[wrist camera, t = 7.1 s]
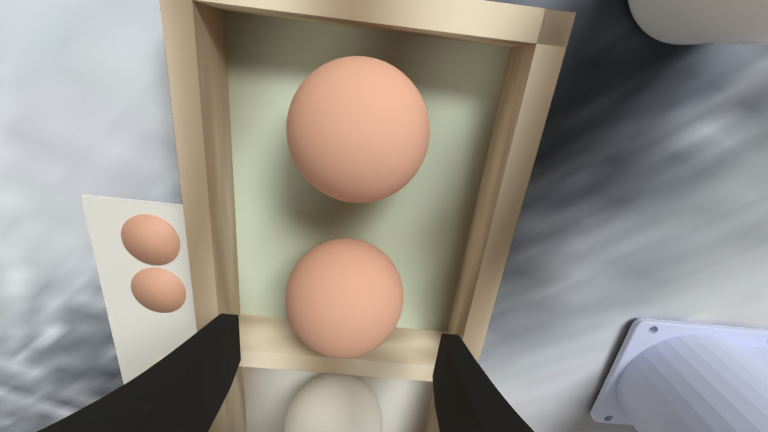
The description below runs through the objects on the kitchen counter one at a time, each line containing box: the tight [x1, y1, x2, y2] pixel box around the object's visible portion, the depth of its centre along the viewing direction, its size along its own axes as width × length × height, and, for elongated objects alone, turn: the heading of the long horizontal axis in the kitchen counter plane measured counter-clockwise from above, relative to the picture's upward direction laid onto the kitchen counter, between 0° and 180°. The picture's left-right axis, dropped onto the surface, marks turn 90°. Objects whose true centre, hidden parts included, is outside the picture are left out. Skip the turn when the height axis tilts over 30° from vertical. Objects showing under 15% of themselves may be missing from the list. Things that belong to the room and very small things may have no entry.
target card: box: [81, 194, 197, 384], centre depth 20 cm, size 6×14×1 cm, turn 174°
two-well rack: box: [160, 0, 576, 432], centre depth 19 cm, size 13×31×4 cm, turn 174°
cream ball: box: [284, 373, 383, 432], centre depth 19 cm, size 5×5×5 cm
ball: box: [286, 56, 430, 203], centre depth 13 cm, size 5×5×5 cm
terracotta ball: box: [285, 238, 403, 359], centre depth 15 cm, size 5×5×5 cm
